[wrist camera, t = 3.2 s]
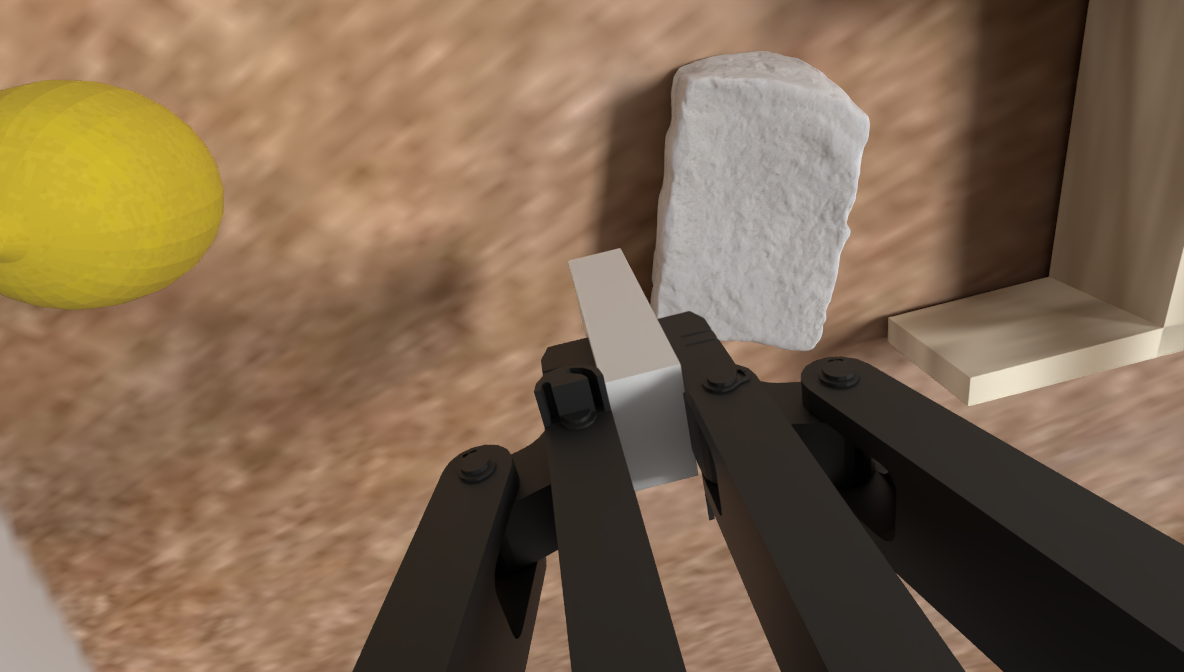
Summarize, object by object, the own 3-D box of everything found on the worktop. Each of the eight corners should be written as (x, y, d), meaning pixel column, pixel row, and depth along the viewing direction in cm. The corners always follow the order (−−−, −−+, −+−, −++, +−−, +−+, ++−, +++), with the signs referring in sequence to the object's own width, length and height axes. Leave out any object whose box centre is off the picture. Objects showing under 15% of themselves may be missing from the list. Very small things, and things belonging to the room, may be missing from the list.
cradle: (887, 342, 26) (967, 406, 22) (894, -50, 20) (1010, -73, 15) (1078, 293, 26) (1195, 347, 22) (1148, -110, 20) (1336, -151, 15)
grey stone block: (674, 72, 24) (677, 13, 18) (842, 83, 23) (900, 27, 18) (645, 327, 25) (640, 347, 20) (804, 344, 25) (846, 370, 19)
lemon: (262, 95, 19) (126, 133, 12) (258, 262, 21) (141, 377, 14) (55, 49, 18) (-231, 62, 11) (74, 231, 20) (-154, 340, 13)
